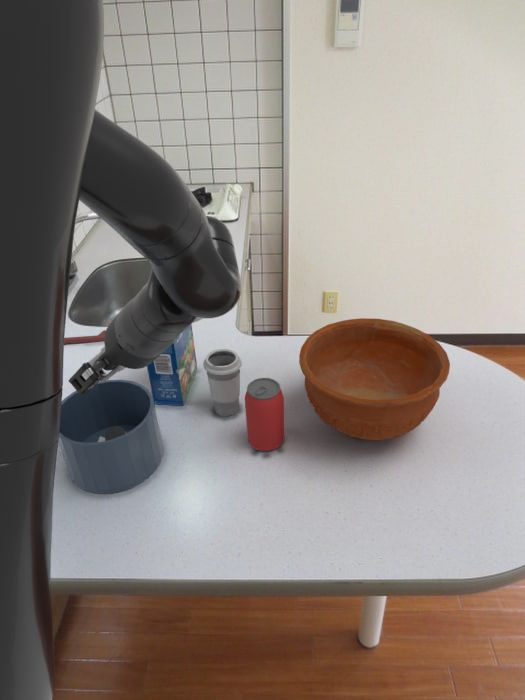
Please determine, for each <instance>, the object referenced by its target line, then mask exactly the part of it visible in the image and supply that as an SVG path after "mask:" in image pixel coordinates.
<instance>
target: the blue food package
mask: <svg viewBox="0 0 525 700" xmlns="http://www.w3.org/2000/svg"><path fill="white" fill-rule="evenodd" d="M197 361H198V360H197V354H196V345H195V340H194V332H193V323H192V324H191V325H190V326H189V327H188V328H187V329H186V330H184V331H183V332H182V333H181V334H180V335H179V336H178V337H177V339H176V340H175V341H174V343H173V344H172V345H171V346H170V347H169V348H168V349H166V350H165V351H164V352H163V353H162V354H161V355H160V356H159V357H158V358H156V359H155V360H154V361H153V362H152V363H151V364H150V365H148V366H146V370H147V375H148V379H149V384H150V390H151V394H152V396H153V399H154V404H155V405H165V406H166V405H168V406H184V405H185V402H186V400H187V398H188V395H189V393H190V391H191V388H192V385H193V383H194V381H195V378H196V374H197V371H198V362H197Z"/></svg>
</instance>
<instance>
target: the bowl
mask: <svg viewBox="0 0 525 700" xmlns="http://www.w3.org/2000/svg"><path fill="white" fill-rule="evenodd" d="M298 357H299V358H298V360H299V361H298V362H299V363H298V364H299V367H300V371H301V373H302V374H303V376H304V389H305V394H306V396H307V399H308V401H309V404H310V405H311V407H312V408H313V409H314V412H315V413H316V414H317V416H318V417H319V418H320V420H322V421H323V422H324V423H325V424H326V425H328V426H329V427H331V428H333V429H334V430H336V431H339V432H340V433H341V434H344V435H346V436H348V437H352V438H356V439H361V440H366V441H383V440H387V439H392V438H394V439H395V438H398V437H401V436H404V435H407V434H409V433H410V432H412V431H414V430H415V429H416V428H418V426H420V425H421V423H423V422H424V421H425V420H426V419H427V417H428V416H429V415H430V413H431V412H432V411H433V409H435V408H434V407H435V406H436V405H437V402H438V400H439V398H440V394H441V393H440V392H441V390H440V389H441V387H442V386H443V385H444V383H445V382H446V381H447V380H448V377H449V374H450V370H451V362H450V359H449V356H448V353H447V351H446V350H445V348H444V347H443V346H442V345H441V344H440V343H439V342H438V341H437V340H436V339H434V338H433V337H432V336H431V335H429V334H428V333H426V332H424V331H422V330H420V329H418V328H415V327H413V326H411V325H409V324H406V323H402V322H398V321H395V320H390V319H383V318H365V317H363V318H362V317H361V318H360V317H359V318H351V319H345V320H340V321H335V322H333V323H328V324H326V325H324V326H322V327H321V328H318V329H317V330H315V331H314V332H313V333H311V334H310V335H309V336H308V337H307V338H306V339H305V341H304V343H303V344H302V345H301V347H300V351H299V356H298Z"/></svg>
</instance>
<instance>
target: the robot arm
mask: <svg viewBox="0 0 525 700" xmlns="http://www.w3.org/2000/svg"><path fill="white" fill-rule="evenodd" d="M104 41H105V9H104V1H103V0H0V700H53V698H54V692H55V676H56V675H55V674H56V669H55V667H56V665H55V664H56V663H55V643H54V641H55V640H54V628H53V627H54V626H53V624H54V623H53V622H54V621H53V606H52V585H51V584H52V582H51V581H52V580H51V578H52V577H51V574H52V573H51V568H52V542H53V541H52V539H53V513H54V512H53V510H54V509H53V508H54V507H53V506H54V491H55V490H54V488H55V476H56V466H57V458H58V450H59V449H58V448H59V444H58V441H59V431H60V418H61V404H62V401H63V389H64V388H63V385H64V355H65V354H64V351H65V344H64V338H65V333H66V319H67V311H68V299H69V298H68V297H69V288H70V280H71V279H70V278H71V269H72V268H71V267H72V258H73V247H74V240H75V239H74V238H75V230H76V222H77V215H78V209H79V202H80V203H82V204H83V205H84V206H86V207H87V208H88V209H89V210H91V211H92V212H93V213H94V214H95V215H96V216H98V217H99V218H100V219H101V220H103V221H104V222H105V223H106V224H107V225H108V226H109V227H110V228H112V229H113V231H115V232H116V233H117V234H118V235H119V236H120V237H121V238H122V239H123V240H124V241H125V242H127V243H128V244H129V245H130V246H131V247H132V248H133V249H134V250H135V251H137V253H139V254H140V255H141V256H142V257H143V258H145V259H146V261H147V263H148V264H149V266H150V268H151V271H150V274H149V277H148V281H147V282H146V284H145V285H143V286H142V288H141V289H140V290H139V291H138V293H137V294H136V295H135V296H134V297H133V298H131V299H130V300H129V301H128V302H127V303H126V304H125V305H124V306H123V308H122V309H121V310H120V311H119V312H118V314H116V316H115V317H114V319H112V320H111V322H110V323H109V325H108V326H107V327H106V329H105V331H106V332H105V336H104V343H103V344H104V346H103V347H102V348H101V349H100V352H98V353H97V354H96V355H95V356H93V358H91V359H90V360H89V361H86V362H84V363H83V364H81V366H80V367H79V368H78V369H77V370H76V372H75V373H74V374H73V375H72V376H71V377H70V378H69V380H68V383H70V385H71V386H72V387H73V388H74V390H75V391H77V392H78V394H79V395H80V394H83V395H84V394H85V393H87V392H88V391H89V390H90V389H92V388H93V387H94V385H96V384H97V383H98V382H104V381H106V380H110V378H111V377H113V376H114V375H115V374H117V373H118V372H121V371H123V370H125V369H131V370H140V369H144V368H147V366H148V365H150V364H151V363H152V362H153V361H154V360H155V359H156V358H158V357H159V356H160V355H161V354H162V353H163V352H164V351H165V350H166V349H168V348H169V347H170V346H171V345H172V344H173V343H174V341H175V340H176V339H177V337H178V336H179V335H180V334H181V333H182V332H183V331H184V330H186V329H187V328H188V327H189V326H190V325H191V324H192V325H193V323H194V322H195V321H196V319H197V318H200V319H215V318H219V317H223V316H224V315H226V314H227V313H230V312H231V311H232V310H233V309H234V308H235V307H236V306H237V304H238V302H239V300H240V298H241V295H242V280H241V274H240V269H239V265H238V260H237V254H236V249H235V244H234V238H233V236H232V233H231V231H230V229H229V228H228V226H227V225H226V223H224V222H223V221H222V220H220V219H218V218H217V217H214V216H210V215H206V212H205V209H204V207H203V206H202V204H201V203H200V202H199V200H198V199H197V197H196V196H195V195H194V193H193V192H192V190H191V189H190V188H189V187H188V186H189V185H187V184H186V182H185V180H183V178H182V177H181V175H180V174H179V173H178V171H176V170H175V168H174V167H173V166H172V164H171V163H169V162H168V161H167V160H166V159H164V158H163V156H161V155H160V154H159V153H158V152H156V150H154V149H153V148H151V146H149V145H148V144H146V143H145V142H144V141H142V140H141V139H139V138H138V137H137V136H135V135H133V134H132V133H130V132H129V131H127V130H126V129H124V128H123V127H122V126H120V125H118V124H117V123H116V122H114V121H113V120H111V119H110V118H108V117H107V116H105V115H104V114H103V113H101V112H99V110H97V109H96V105H97V100H98V92H99V87H100V82H101V73H102V66H103V57H104V56H103V55H104V46H105V43H104ZM106 371H109V372H108V373H106Z"/></svg>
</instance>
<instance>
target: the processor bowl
mask: <svg viewBox="0 0 525 700" xmlns="http://www.w3.org/2000/svg"><path fill="white" fill-rule="evenodd" d="M113 426H119V427H121V428H123V429H124V430H125V432H127V433H126V434H124V435H122V436H119V437H117V438H114V439H112V440H107V441H102V442H98V440H99V437H100V436H101V437H104V438H105V433H106V431H107V430H108V429H109V428H111V427H113ZM58 447H59V449H60V452H61V455H62V457H63V460H64V464H65V465H66V469H67V472H68V474H69V478H70V479H71V481H72V482H73V483H74V484H75V485H76V486H77V487H78V488H79V489H82V490H83V491H86V492H88V493H90V494H91V493H93V494H98V495H109V494H117V493H121V492H125V491H128V490H131V489H132V488H135V487H137V486H138V485H140V484H141V483H144V482H145V481H147V479H149V478H150V477H151V476H152V475H153V474H154V473H156V471H157V469H158V468H159V467H160V464H161V462H162V460H163V457H164V445H163V440H162V435H161V428H160V424H159V419H158V414H157V410H156V404H154V399H153V395H152V392H151V391H150V389H148V388H147V387H146V386H145V385H143V384H141V383H139V382H136V381H133V380H127V379H108V380H106V381H104V382H101V381H99V382H98V383H97V384H96V385H94V387H93V388H92V389H90V390H89V391H88V392H87V393H85V394H84V395H83V394H80V395H79V394H78V392H77V391H76V390H75V391H73V392H71V393H70V394H69V395H67V396H66V397H65V398H64V399H62V404H61V418H60V431H59V441H58Z"/></svg>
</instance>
